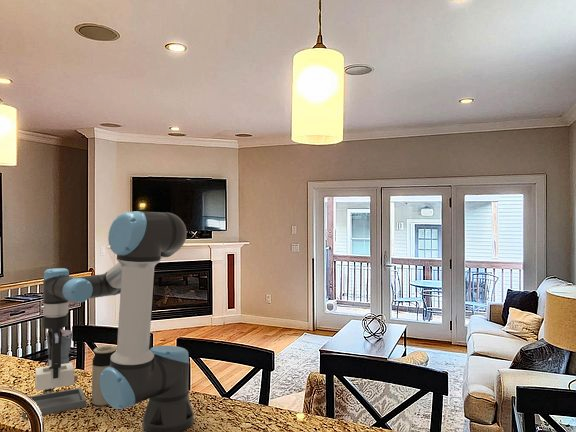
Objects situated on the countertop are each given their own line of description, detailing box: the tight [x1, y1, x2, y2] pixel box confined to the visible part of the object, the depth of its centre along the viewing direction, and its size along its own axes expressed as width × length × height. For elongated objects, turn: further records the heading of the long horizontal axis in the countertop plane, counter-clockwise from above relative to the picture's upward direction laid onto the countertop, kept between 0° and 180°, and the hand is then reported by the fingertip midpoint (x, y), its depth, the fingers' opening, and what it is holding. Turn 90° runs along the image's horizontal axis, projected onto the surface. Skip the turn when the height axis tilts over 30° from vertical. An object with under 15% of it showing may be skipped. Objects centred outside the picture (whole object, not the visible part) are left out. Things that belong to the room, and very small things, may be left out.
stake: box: [42, 388, 54, 394], centre depth 160 cm, size 3×3×7 cm
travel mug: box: [91, 345, 117, 407], centre depth 152 cm, size 8×8×18 cm
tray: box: [22, 387, 87, 419], centre depth 149 cm, size 13×18×2 cm
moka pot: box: [46, 328, 74, 366], centre depth 176 cm, size 10×15×20 cm, turn 60°
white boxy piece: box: [34, 362, 78, 392], centre depth 149 cm, size 12×8×5 cm, turn 122°
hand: (54, 383), depth 149 cm, fingers closed on white boxy piece, 8 cm apart
